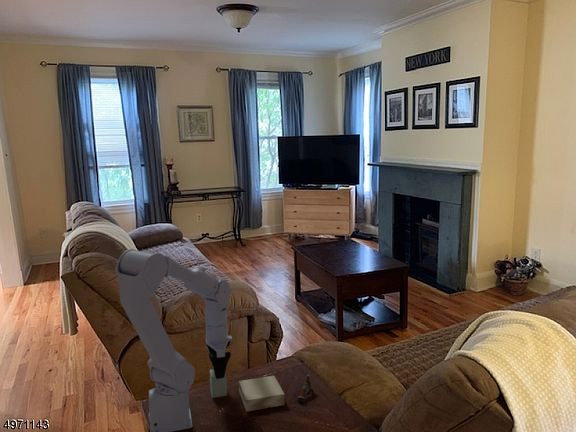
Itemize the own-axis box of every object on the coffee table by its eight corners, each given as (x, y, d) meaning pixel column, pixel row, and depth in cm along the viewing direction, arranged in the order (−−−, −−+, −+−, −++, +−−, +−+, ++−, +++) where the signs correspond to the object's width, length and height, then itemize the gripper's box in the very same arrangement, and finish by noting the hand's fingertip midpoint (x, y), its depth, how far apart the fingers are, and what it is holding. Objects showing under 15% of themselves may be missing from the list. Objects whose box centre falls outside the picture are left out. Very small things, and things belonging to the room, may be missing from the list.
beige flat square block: (246, 411, 107) (246, 400, 107) (239, 391, 117) (238, 381, 116) (284, 404, 110) (284, 393, 110) (274, 385, 120) (274, 375, 119)
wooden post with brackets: (313, 383, 119) (312, 372, 117) (306, 408, 113) (303, 397, 111) (307, 382, 120) (305, 371, 118) (299, 407, 113) (297, 396, 111)
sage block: (212, 398, 114) (211, 376, 113) (210, 390, 118) (209, 369, 117) (226, 395, 115) (226, 374, 114) (224, 388, 119) (224, 367, 118)
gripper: (236, 331, 108) (237, 381, 110) (227, 312, 122) (228, 357, 124) (208, 334, 106) (209, 386, 108) (202, 314, 120) (203, 360, 122)
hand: (218, 371), depth 116 cm, fingers open, 7 cm apart
